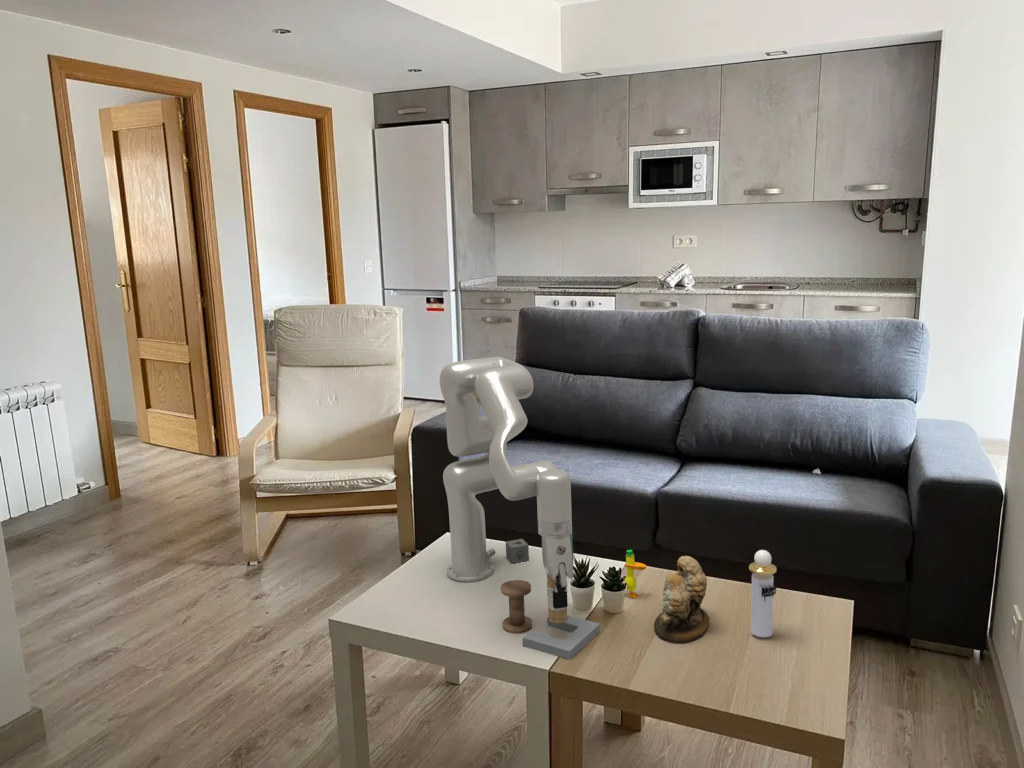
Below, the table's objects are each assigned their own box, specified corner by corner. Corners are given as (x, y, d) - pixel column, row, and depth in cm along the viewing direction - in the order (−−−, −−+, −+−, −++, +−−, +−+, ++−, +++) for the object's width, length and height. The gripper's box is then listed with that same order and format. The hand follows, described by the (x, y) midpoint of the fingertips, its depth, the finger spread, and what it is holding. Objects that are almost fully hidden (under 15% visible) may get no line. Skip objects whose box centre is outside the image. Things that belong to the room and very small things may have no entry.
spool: (513, 616, 189) (511, 577, 188) (538, 623, 186) (536, 583, 184) (496, 629, 184) (494, 588, 182) (522, 636, 180) (520, 595, 178)
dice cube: (529, 561, 221) (528, 544, 220) (512, 564, 220) (511, 547, 219) (522, 555, 226) (522, 538, 225) (506, 558, 224) (505, 541, 223)
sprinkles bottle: (566, 614, 181) (564, 558, 179) (569, 623, 177) (567, 567, 174) (546, 615, 181) (544, 560, 178) (549, 625, 176) (547, 568, 174)
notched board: (554, 619, 187) (554, 611, 187) (600, 631, 180) (599, 623, 180) (522, 645, 176) (522, 637, 175) (569, 659, 169) (569, 651, 169)
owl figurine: (668, 604, 192) (668, 538, 189) (716, 613, 187) (717, 545, 184) (645, 638, 177) (645, 566, 174) (698, 649, 171) (698, 575, 168)
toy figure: (648, 595, 197) (648, 550, 195) (644, 601, 194) (643, 555, 192) (623, 591, 200) (622, 546, 198) (618, 597, 197) (617, 551, 195)
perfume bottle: (742, 633, 177) (743, 549, 173) (761, 626, 180) (763, 543, 176) (761, 644, 172) (762, 557, 168) (780, 637, 175) (782, 552, 171)
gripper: (582, 537, 167) (584, 617, 171) (561, 511, 183) (563, 584, 187) (547, 541, 166) (550, 622, 169) (529, 514, 182) (532, 588, 185)
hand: (557, 601), depth 178 cm, fingers closed on sprinkles bottle, 4 cm apart
